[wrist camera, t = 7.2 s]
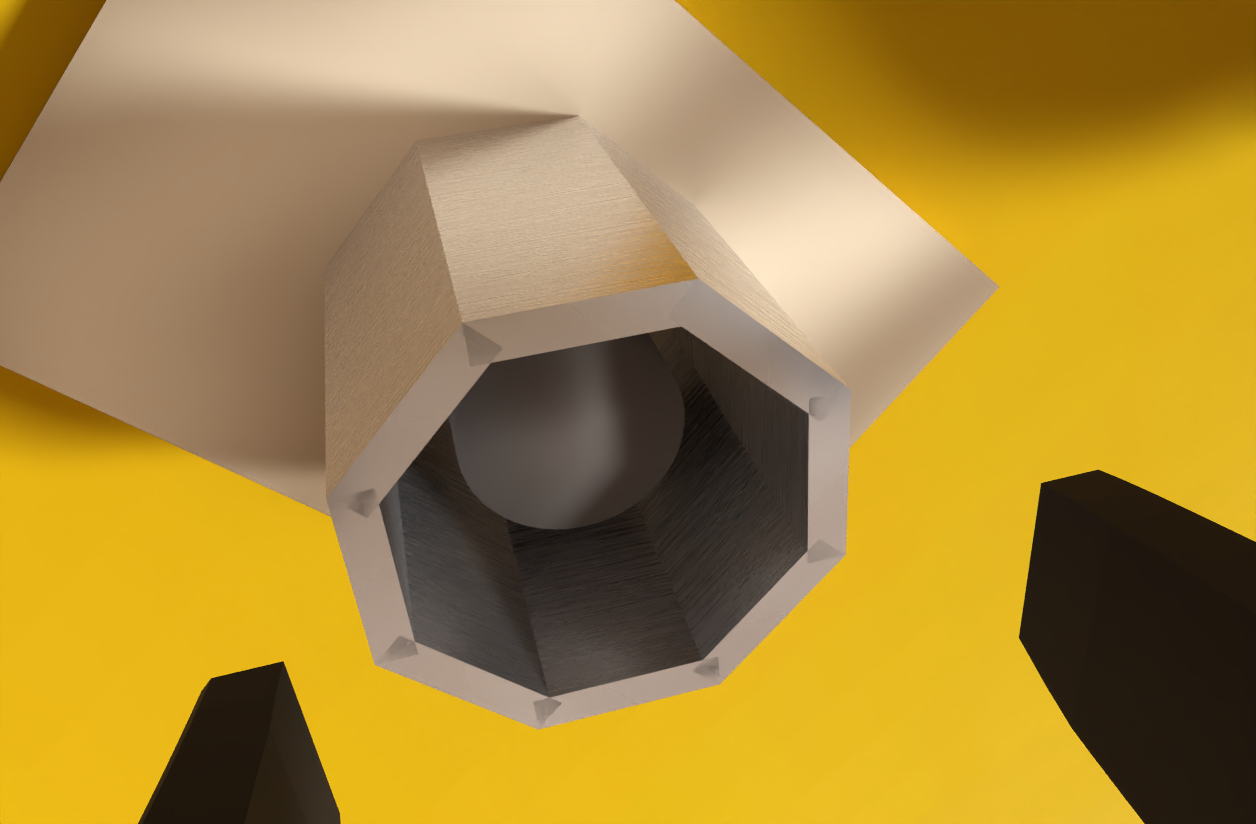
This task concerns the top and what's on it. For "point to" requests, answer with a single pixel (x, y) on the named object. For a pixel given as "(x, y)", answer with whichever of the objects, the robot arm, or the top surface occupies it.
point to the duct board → (352, 178)
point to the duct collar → (548, 321)
